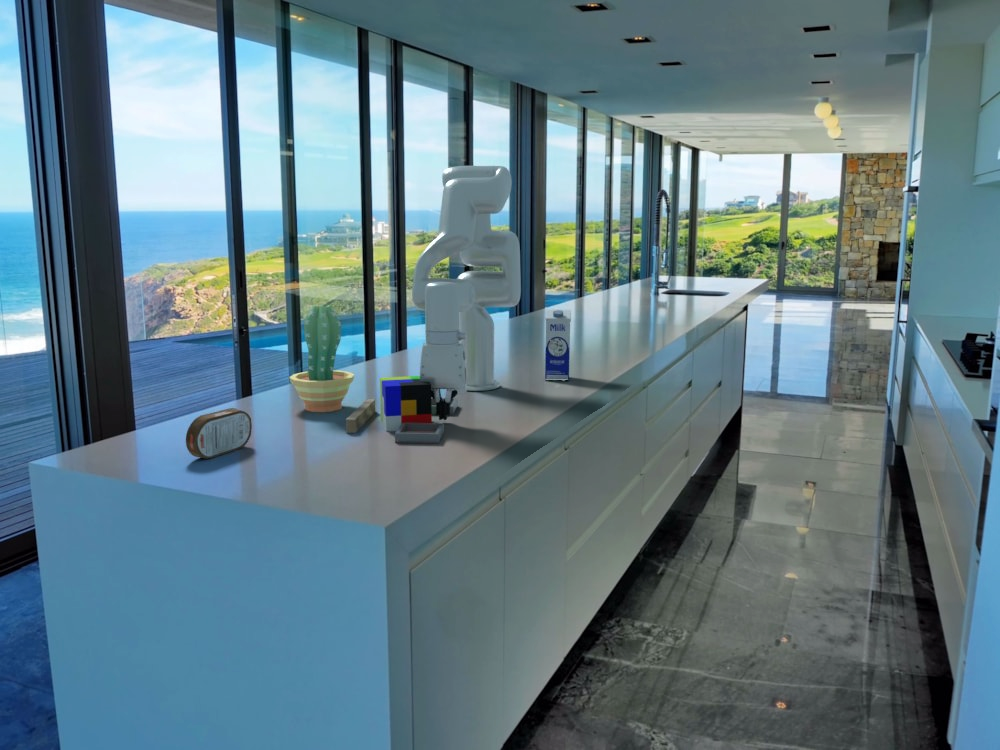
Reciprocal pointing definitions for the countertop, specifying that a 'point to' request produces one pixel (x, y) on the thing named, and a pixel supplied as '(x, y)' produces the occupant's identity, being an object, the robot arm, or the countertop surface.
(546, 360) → the milk carton
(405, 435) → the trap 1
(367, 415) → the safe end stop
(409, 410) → the puzzle toy
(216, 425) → the tin
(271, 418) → the countertop surface
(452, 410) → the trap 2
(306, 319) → the potted cactus
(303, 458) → the countertop surface
